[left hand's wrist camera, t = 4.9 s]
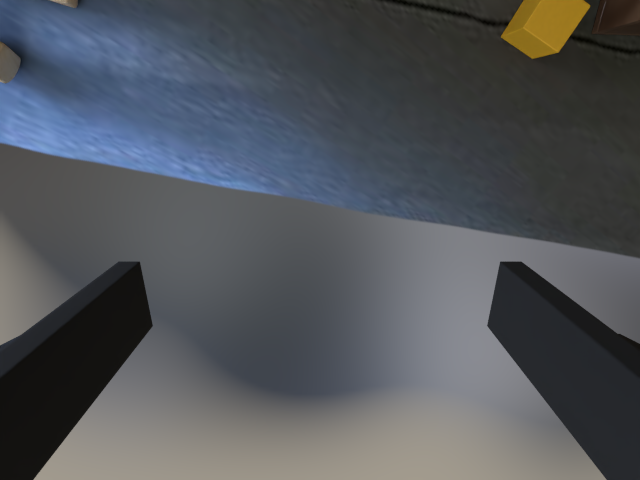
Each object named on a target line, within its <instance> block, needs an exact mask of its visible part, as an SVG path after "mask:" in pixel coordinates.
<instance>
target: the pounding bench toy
mask: <svg viewBox="0 0 640 480" xmlns="http://www.w3.org/2000/svg"><path fill="white" fill-rule="evenodd" d="M49 1H53V2H56V3H59V4H62V5H66V6H69V7H73V8H76V7H77V5H78V0H49ZM20 63H21V59H20V57H19V56H18V55H16V54H15V53H14V52H13V51H12V50H11V49H10V48H9V47H8V46H6V45H5V44H4V43H2V42H1V41H0V82H3V83H8V82H10V81H11V80H12V79H13V78H14V77H15V75H16V74H17V72H18V69H19V67H20Z"/></svg>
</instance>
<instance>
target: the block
mask: <svg viewBox="0 0 640 480" xmlns="http://www.w3.org/2000/svg"><path fill="white" fill-rule="evenodd" d="M589 8H590V5H589V4H588V3H587V2H585V1H584V0H524V1H523V2H522V4H521V5H520V7H519V9H518V10H517V12H516V13H515V15H514V17H513V18H512V20H511V21H510V23H509V24H508V26H507V28H506V29H505V31H504V32H503V34H502V36H501V38H503V39H504V40H506V41H507V42H508V43H510V44H511V45H513V46H514V47H516V48H517V49H519V50H520V51H522V52H523V53H525V54H526V55H528V56H529V57H531V58H532V59H534V58H538V57H542V56H546V55H550V54H554V53H558V52H559V51H560V50H561V48H562V47H563V45H564V44H565V43H566V41H567V40H568V38H569V37H570V35H571V34H572V32H573V31H574V30H575V28H576V27H577V25H578V24H579V22H580V21H581V19H582V18H583V16H584V15H585V14H586V12H587V11H588V9H589Z"/></svg>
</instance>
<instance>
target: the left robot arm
mask: <svg viewBox="0 0 640 480" xmlns="http://www.w3.org/2000/svg"><path fill="white" fill-rule="evenodd" d="M152 326H153V325H152V320H151V315H150V310H149V305H148V300H147V295H146V290H145V285H144V280H143V276H142V270H141V266H140V262H118V263H116V264H115V265H114V266H112V267H111V268H110V269H108V270H107V271H106V272H104V273H103V274H102V275H100V276H99V277H98V278H96V279H95V280H94V281H92V282H91V283H90V284H88V285H87V286H86V287H84V288H83V289H82V290H80V291H79V292H78V293H76V294H75V295H74V296H72V297H71V298H70V299H68V300H67V301H66V302H64V303H63V304H62V305H60V306H59V307H58V308H56V309H55V310H54V311H52V312H51V313H50V314H48V315H47V316H46V317H44V318H43V319H42V320H40V321H39V322H38V323H36V324H35V325H34V326H32V327H31V328H30V329H28V330H27V331H26V332H24V333H23V334H22V335H20V336H18V337H16V338H14V339H12V340H10V341H8V342H6V343H4V344H2V345H0V480H33V479H34V478H35V477H36V475H37V474H38V473H39V472H40V470H41V469H42V468H43V466H44V465H45V464H46V462H47V461H48V460H49V459H50V457H51V456H52V455H53V454H54V452H55V451H56V450H57V448H58V447H59V446H60V445H61V443H62V442H63V441H64V439H65V438H66V437H67V436H68V434H69V433H70V432H71V430H72V429H73V428H74V427H75V425H76V424H77V423H78V421H79V420H80V419H81V418H82V416H83V415H84V414H85V412H86V411H87V410H88V408H89V407H90V406H91V405H92V403H93V402H94V401H95V399H96V398H97V397H98V396H99V394H100V393H101V392H102V391H103V389H104V388H105V387H106V385H107V384H108V383H109V381H110V380H111V379H112V378H113V376H114V375H115V374H116V372H117V371H118V370H119V369H120V367H121V366H122V365H123V363H124V362H125V361H126V360H127V358H128V357H129V356H130V354H131V353H132V352H133V351H134V349H135V348H136V347H137V345H138V344H139V343H140V342H141V340H142V339H143V338H144V336H145V335H146V334H147V333H148V331H149V330H150V329H151V327H152ZM487 326H488V327H489V329H490V330H491V331H492V333H493V334H494V335H495V336H496V338H497V339H498V340H499V342H500V343H501V344H502V345H503V347H504V348H505V349H506V351H507V352H508V353H509V354H510V356H511V357H512V358H513V360H514V361H515V362H516V363H517V365H518V366H519V367H520V369H521V370H522V371H523V372H524V374H525V375H526V376H527V378H528V379H529V380H530V381H531V383H532V384H533V385H534V387H535V388H536V389H537V391H538V392H539V393H540V394H541V396H542V397H543V398H544V400H545V401H546V402H547V403H548V405H549V406H550V407H551V408H552V410H553V411H554V412H555V414H556V415H557V416H558V418H559V419H560V420H561V421H562V423H563V424H564V425H565V426H566V428H567V429H568V430H569V432H570V433H571V434H572V436H573V437H574V438H575V439H576V441H577V442H578V443H579V445H580V446H581V447H582V448H583V450H584V451H585V452H586V454H587V455H588V456H589V457H590V459H591V460H592V461H593V463H594V464H595V465H596V466H597V468H598V469H599V470H600V471H601V473H602V474H603V475H604V477H605V478H606V479H607V480H640V344H639V343H637V342H635V341H633V340H631V339H629V338H627V337H625V336H623V335H621V334H617V333H616V332H614V331H613V330H612V329H610V328H609V327H608V326H606V325H605V324H604V323H602V322H601V321H600V320H598V319H597V318H596V317H594V316H593V315H592V314H590V313H589V312H588V311H586V310H585V309H584V308H582V307H581V306H580V305H578V304H577V303H576V302H574V301H573V300H572V299H570V298H569V297H568V296H566V295H565V294H564V293H562V292H561V291H560V290H558V289H557V288H556V287H554V286H553V285H552V284H550V283H549V282H548V281H546V280H545V279H544V278H542V277H541V276H540V275H538V274H537V273H536V272H534V271H533V270H532V269H530V268H529V267H528V266H526V265H525V264H524V263H522V262H500V266H499V270H498V276H497V280H496V285H495V290H494V295H493V301H492V305H491V310H490V315H489V320H488V325H487Z"/></svg>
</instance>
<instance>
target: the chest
mask: <svg viewBox="0 0 640 480" xmlns="http://www.w3.org/2000/svg"><path fill="white" fill-rule="evenodd" d="M592 34H607V35H637V36H640V0H600V4H599V7H598V11H597V15H596V19H595V22H594V26H593V30H592Z"/></svg>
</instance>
